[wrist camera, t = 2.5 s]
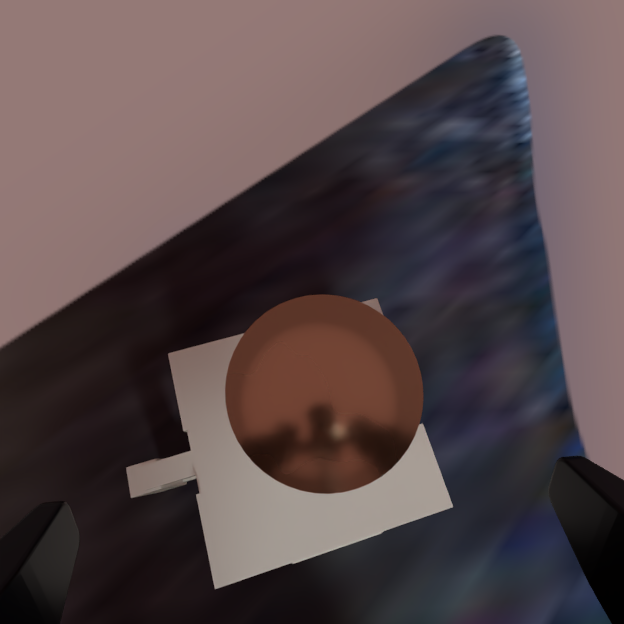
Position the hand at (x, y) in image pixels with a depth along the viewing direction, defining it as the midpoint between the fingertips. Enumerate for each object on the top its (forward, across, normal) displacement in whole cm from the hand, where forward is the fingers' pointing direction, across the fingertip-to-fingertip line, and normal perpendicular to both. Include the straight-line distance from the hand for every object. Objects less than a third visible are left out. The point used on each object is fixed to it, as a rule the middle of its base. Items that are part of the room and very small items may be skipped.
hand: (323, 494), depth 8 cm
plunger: (+7, 0, +4) cm, 8 cm away
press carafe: (+10, +1, +8) cm, 13 cm away
